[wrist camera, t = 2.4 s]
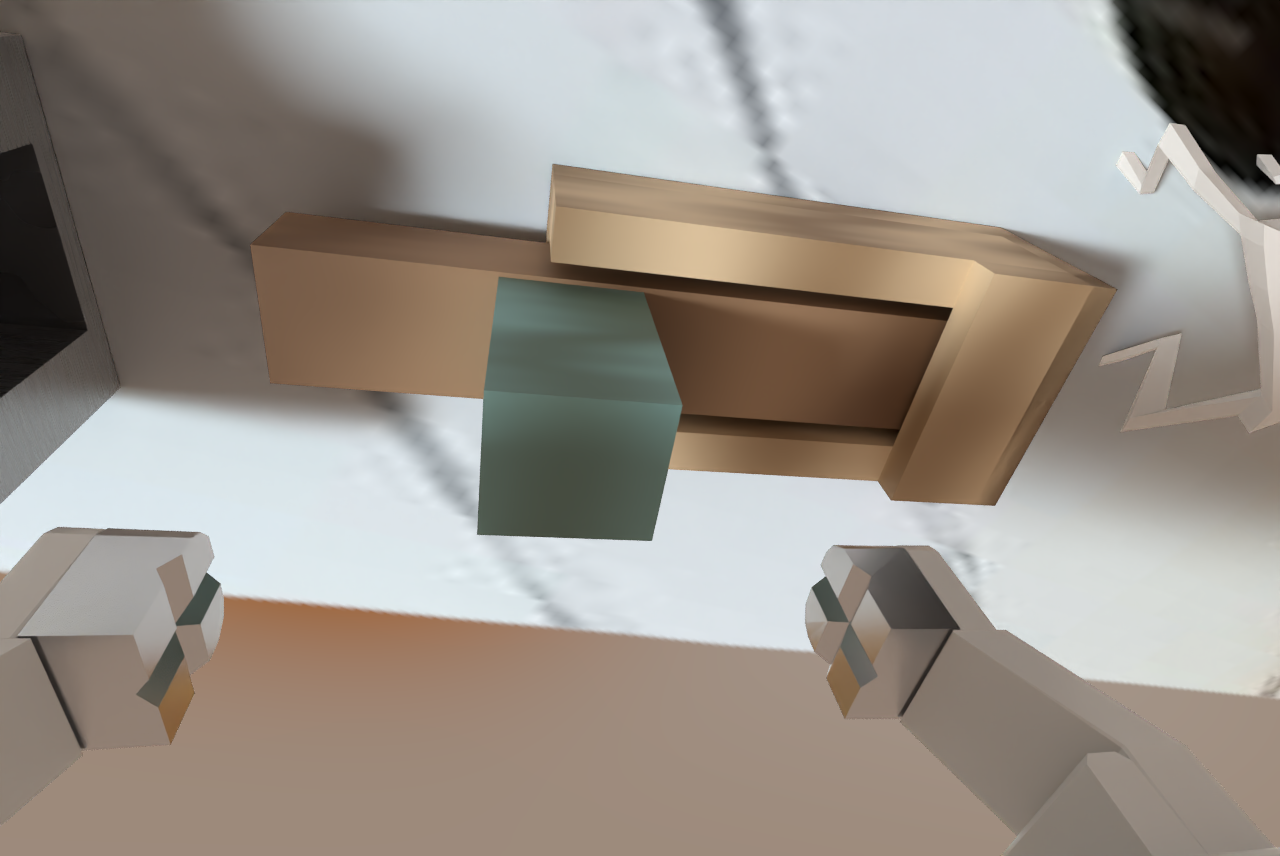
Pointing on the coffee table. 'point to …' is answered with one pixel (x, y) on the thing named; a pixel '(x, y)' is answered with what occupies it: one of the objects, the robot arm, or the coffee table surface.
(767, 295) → the slide bar
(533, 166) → the coffee table surface
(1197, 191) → the origami figure
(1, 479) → the socket block
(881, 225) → the guide channel
